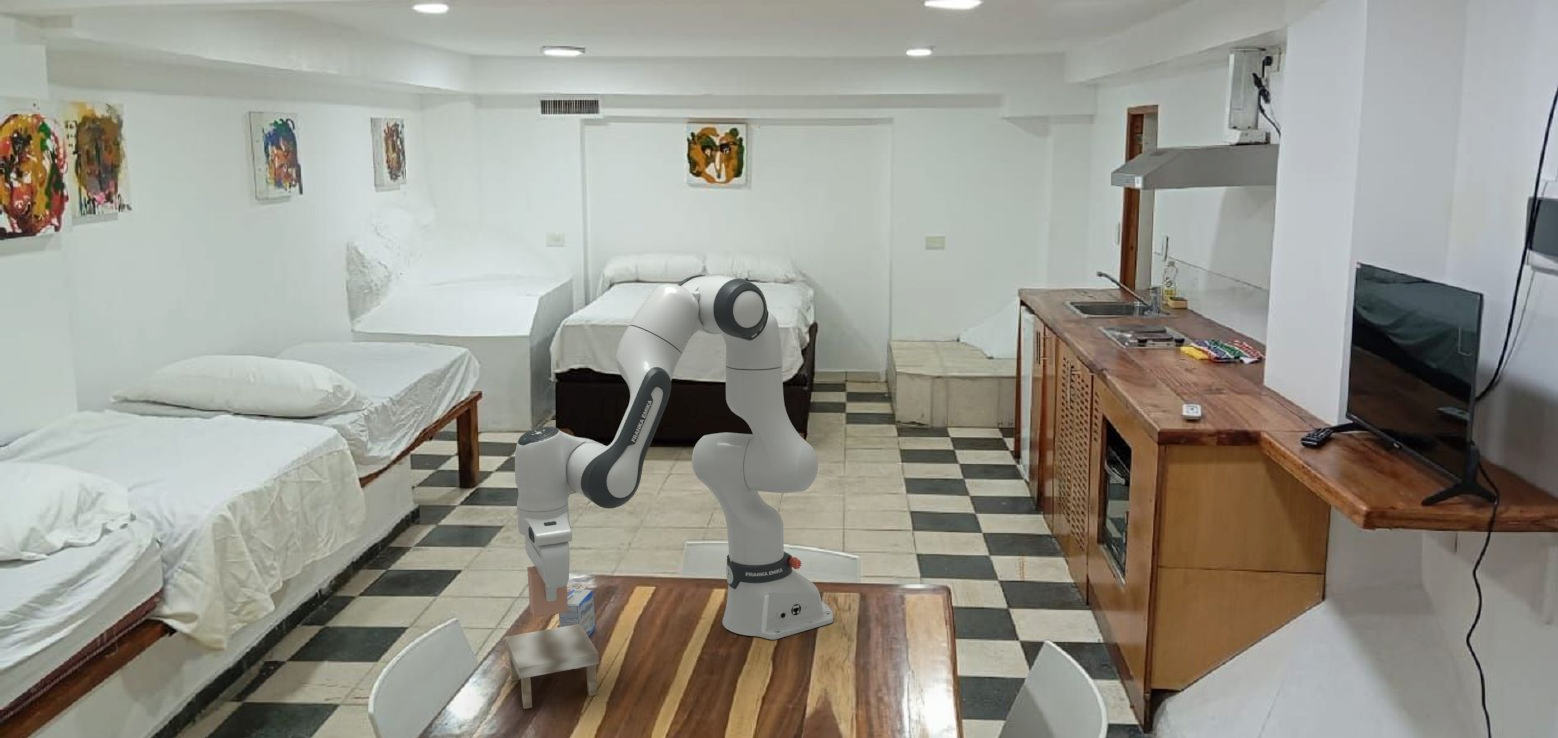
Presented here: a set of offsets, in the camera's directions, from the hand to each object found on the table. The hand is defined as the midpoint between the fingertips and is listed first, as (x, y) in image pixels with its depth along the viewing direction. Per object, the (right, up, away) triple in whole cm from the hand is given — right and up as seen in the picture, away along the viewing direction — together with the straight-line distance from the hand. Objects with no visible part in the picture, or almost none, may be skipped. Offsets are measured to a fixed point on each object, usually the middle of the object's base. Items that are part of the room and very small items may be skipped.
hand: (547, 594), depth 216 cm
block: (0, -3, +1) cm, 3 cm away
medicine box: (+1, -13, +24) cm, 28 cm away
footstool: (0, -17, +4) cm, 18 cm away
